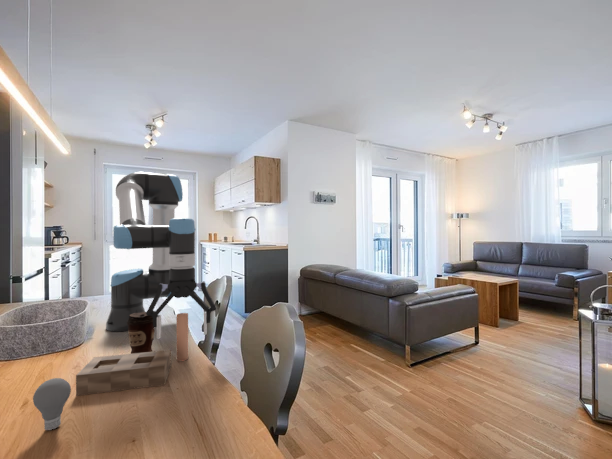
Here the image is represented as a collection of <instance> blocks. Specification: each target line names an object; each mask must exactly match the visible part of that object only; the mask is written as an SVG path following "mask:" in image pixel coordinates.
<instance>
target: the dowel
mask: <svg viewBox="0 0 612 459" xmlns="http://www.w3.org/2000/svg"><path fill="white" fill-rule="evenodd" d="M188 359H189V313H187V312H180V313H177V314H176V361H177V362H184V361H186V360H188Z"/></svg>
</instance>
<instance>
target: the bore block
mask: <svg viewBox="0 0 612 459" xmlns="http://www.w3.org/2000/svg"><path fill="white" fill-rule="evenodd" d="M171 369H172V349H167V350H157V351H153V352H143V353H133V354H131V353H125V354H123V353H122V354H115V355H103V356H94V357H93V358H92V359H91V360H90V361H89V362H87V364H86V365H84V367H83V368H81V370H79V372H78V373H77V374H76V375H75V394H76V396H77V397H78V396H85V395H93V394H100V393H109V392H117V391H126V390H133V389H141V388H143V389H144V388H150V387H157V386H165V385H166V381H167V379H168V377H169V375H170V371H171Z"/></svg>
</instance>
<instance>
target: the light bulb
mask: <svg viewBox="0 0 612 459" xmlns="http://www.w3.org/2000/svg"><path fill="white" fill-rule="evenodd" d="M71 391H72V388H71V384H70V383H69V381H67V380H66V379H64V378H61V377H56V378H55V377H54V378H50V379H48V380H46V381H44V382H42V383H41V384H40V385H39V386H38V387H37V388H36V389H35V391H34V394H33V396H32V400H33V401H32V402H33V405H34V407H35V408H36V409H37V410H38V411H39V412H40V413H41V417H42V418H41V419H43V421H44V425H43V426H44V427H43V428H44V430H45V431H52V429H53V430H55V429H56V428H58V427H59V426H61V424H62V423H61V422H62V421H61V418H62V413H63V411H64V410H63V409H64V407H65V404H66V402H67V401H68V399H69V398H70V395H71Z"/></svg>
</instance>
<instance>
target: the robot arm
mask: <svg viewBox="0 0 612 459" xmlns="http://www.w3.org/2000/svg"><path fill="white" fill-rule="evenodd" d="M181 182H182V181H181V179H180V177H179V176H178V175H176V174H170V173H159V172H146V171H145V172H144V171H135V172H132V173H129V174H127V175H125V176H123V177H122V178H121V179H120V180H119V181H118V183H117V184H116V187H115V196H116V198H117V200H118V206H119V208H118V209H119V212H118V213H119V225H114V226H113V230H112V232H113V233H112V235H113V236H112V237H113V247H114V248H115V249H117V250H121V249H122V250H123V249H124V250H134V249H135V250H136V249H139V250H140V249H152V264H151V265H149V266H148V271H144V269H143V268H132V269H131V268H130V269H127V270H122V271H118V272H115V273H114V274H112V275H111V278H110V279H111V280H110V281H111V282H110V284H109V285H110V291H111V293H110V312H109V314H108V317H107V320H106V323H105V330H107V331H108V332H124V331H125V332H127V331H128V324H127V320H128V318H129V317H130V316H129V315H131V314H133V313H141V312H146V315H150V316H152V317H153V327H154V328H156V340H159V339H160V338H161V337H162V315H161V314H160V313H161V311H163V309H164V308H165V307H166V306H167V305H168V304H169V302H170V301H171V300H172V299H173V297H175V298H176V299H180V298H188V297H190V298H192V300H194V301H195V303H197V304H198V306H200V308H201V309H203V311H204V312H203V335H205V336H206V335H207V332H208V323H209V324H210V323H211V313H212V312H215V311H216V310H217V305H216V303H215V302H214V300H213V298H212V296H211V294H210V293H209V290H208V288H207V286H206V281H204V280H203V281H201V282H196V268H195V267H194V266H196V253H195V252H196V250H195V249H196V247H195V246H196V243H195V242H196V238H195V237H196V236H195V235H196V234H195V233H196V227H195V220H194V219H193V218H189V217H184V218H183V217H177V218H175V209H177V207H178V206H179V203H180V202H183V196H184V195H183V187H182V183H181ZM143 201H148V205H149V206H150V208H152V225H151V224H148V225H147V224H146V220H145V218H146V217H145V213H144V212H145V210H144V205H143ZM197 288H198V289H199V290H201V292H202V294H203V295H204V298H205V299H206V301H207V303H208V304H207V303H205V301H204V300H203V299H202V298H201V296H199V295H198V294H197V292H195V290H196V289H197ZM160 298H165V300H164V301H163V302H162V303H161V304H160V305H159V306H158V308H157V309H156V310H154V309H155V307H156V305H157V304H158V301H159V299H160ZM148 299H152V301H151V303H150V305H149V307H148V308H147V311H145V307H144V300H148ZM208 305H209V306H210V307H209V306H208Z"/></svg>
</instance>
